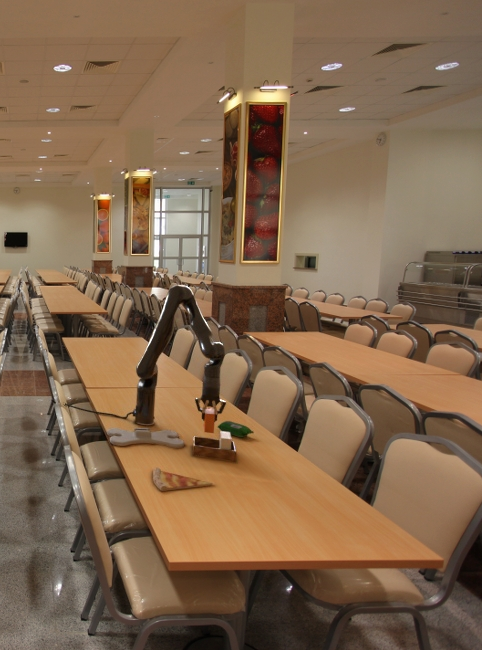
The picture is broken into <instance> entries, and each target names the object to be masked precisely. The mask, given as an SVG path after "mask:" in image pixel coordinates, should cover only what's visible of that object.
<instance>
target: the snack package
mask: <svg viewBox="0 0 482 650" xmlns="http://www.w3.org/2000/svg"><path fill="white" fill-rule="evenodd" d="M216 427H217V428H218V429H219V430H220V431H224V432H230V435H231V436H234V437H237V438H244V437H247V436H248V435H251V434H254V433H255V432H254V430H252V429H251V428H250V427H248V426H247V425H244V424H241V423H238V422H235V421H231V420H225V421H223V422H221V423H219V424H218V425H217V426H216Z"/></svg>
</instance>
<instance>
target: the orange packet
mask: <svg viewBox="0 0 482 650" xmlns="http://www.w3.org/2000/svg"><path fill="white" fill-rule="evenodd" d="M214 421H215V412H214V408H213V407H207V408H206V410H205V421H203V432H204V433H208V434H215V422H216V421H215V422H214Z"/></svg>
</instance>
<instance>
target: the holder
mask: <svg viewBox="0 0 482 650" xmlns="http://www.w3.org/2000/svg"><path fill="white" fill-rule="evenodd" d="M106 434H107V436H109V437H110V438H109V442H110V444H112V445H114V446H117V447H126V446H129V445H130V446H131V445H136V444H138V445H139V444H148V445H149V444H150V445H151V444H152V445H162V446H166V447H169V448H173V449H174V448H175V449H180V448H181V449H182V448H184V447H185V445H186V444H185V441H184V440H182V439H180V438H179V433H178V432H176V431H175V430H171V429H162V430H158V431H151V430H150V428H149V427H148V428H147V427H146V428H145V427H136V428H134V430H127V429H124V428H123V429H122V428H118V427H111V428H108V429H107V430H106Z"/></svg>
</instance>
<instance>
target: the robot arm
mask: <svg viewBox="0 0 482 650" xmlns="http://www.w3.org/2000/svg"><path fill="white" fill-rule="evenodd" d="M180 305H181V307H183V308H184V310H185V311H186V313H187V316H188V318H189V325H190V328H191V330H192V332H193V334H194V335H195V337H196V339H197V342H198V347H199V349H200V352H201V354H202V356H203V357H204V358H206V359H207V360H209V361H208V362H206V363H205V364H204V365H203V377H202V389H201V396H200V397H198V398H197V397H195V398H194V402H195V405H196V408H197V411H198V412H200V413H201V420H202V421H203V422H204V421H205V410H206V408H212V409H214V412H215V421H214V423H216V422H217V421H218V416H219V415H221V414H223V412H224V409H225V407H226V405H227V402H226V400H222V399H221V395H220V394H221V368H222V365H223V364H224V363H223V362H224V359H225V357H226V356H225V355H226V349H225V345H223V343H221V342H212V341H211V339H212V338H213V332H212V330H211V328H210V327H209V325H208V323H207V322H206V320H205V319H204V317H203V314H202V312H201V310H200V308H199V306H198V303H197V300H196V298H195V296H194V293H193V291H192V289H191V288H190V287H188V286H187V285H180V284H175V285H172V286H171V287H170V288H169V289H168V291H167V294H166V296H165V300H164V302H163V306H162V309H161V312H160V313H159V316H158V318H157V321H156V324H155V325H154V327H153V330H152V332H151V335H150V337H149V340H148V342H147V345H146V348H145V351H144V353H143V355H142V357H141V358H140V360H139V362H138V363H137V365H136V368H135V373H136V376H137V377H138V378H139V379H138V383H137V385H136V401H135V408H133V410H132V411H131V412H128V413H127V414H126V416H120V415H117V414H114V413H109V412H101V411H95V410H91V409H87V408H82V407H79V406H74V405H72V404H69V403H66V402H64V403H65V405H64V406H67V407H70V408H72V409H76V410H79V411H82V412H88V413H93V414H98V415H103V416H104V415H105V416H111V417H115V418H119V419H124V420H125V419H128V418H129V416H130V415H132V417H134V424H138V425H141V426H147V427H148V426H153V425H154V424H155V422H154V421H155V407H156V390H157V389H156V388H157V385H158V378H159V377H158V376H159V368H158V364H157V363H158V360H159V358H160V356H161V355H162V353H163V352H164V351H165V350H166V348H167V346H168V344H169V343H170V341H171V339H172V336H173V335H174V332H175V317H176V313H177V310H178V309H179V306H180ZM54 400H55V399H51V402H54ZM201 402H202V403H203V406H202V408H201V406H200V403H201ZM219 404H220V406H219V409H217V406H218V405H219Z"/></svg>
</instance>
